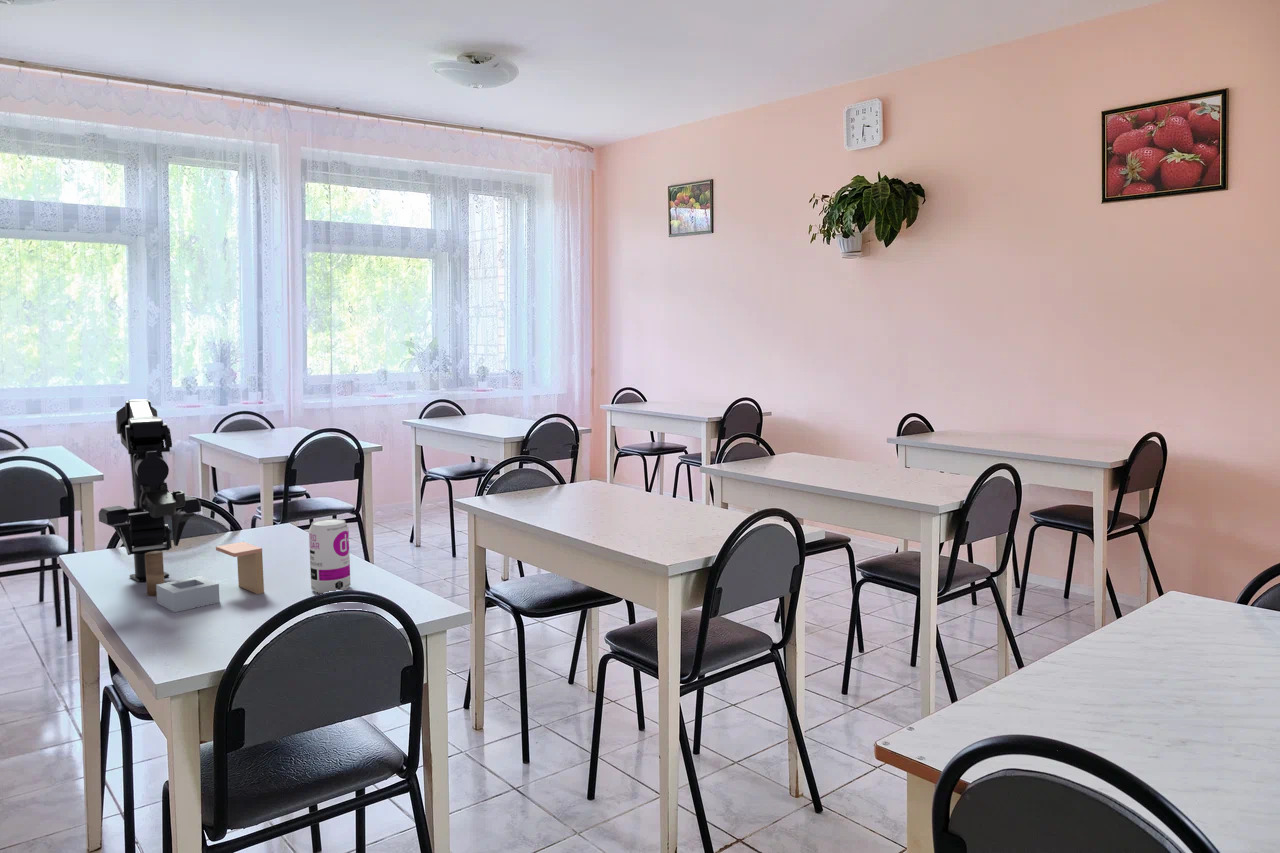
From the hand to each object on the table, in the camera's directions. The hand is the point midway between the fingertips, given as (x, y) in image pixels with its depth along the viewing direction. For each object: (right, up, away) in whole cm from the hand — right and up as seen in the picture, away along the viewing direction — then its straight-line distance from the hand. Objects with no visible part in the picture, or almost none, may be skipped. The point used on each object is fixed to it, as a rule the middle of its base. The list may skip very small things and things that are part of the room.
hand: (153, 549), depth 195 cm
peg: (0, -10, +1) cm, 10 cm away
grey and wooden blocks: (+13, -10, -2) cm, 17 cm away
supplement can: (+37, -10, +4) cm, 38 cm away
